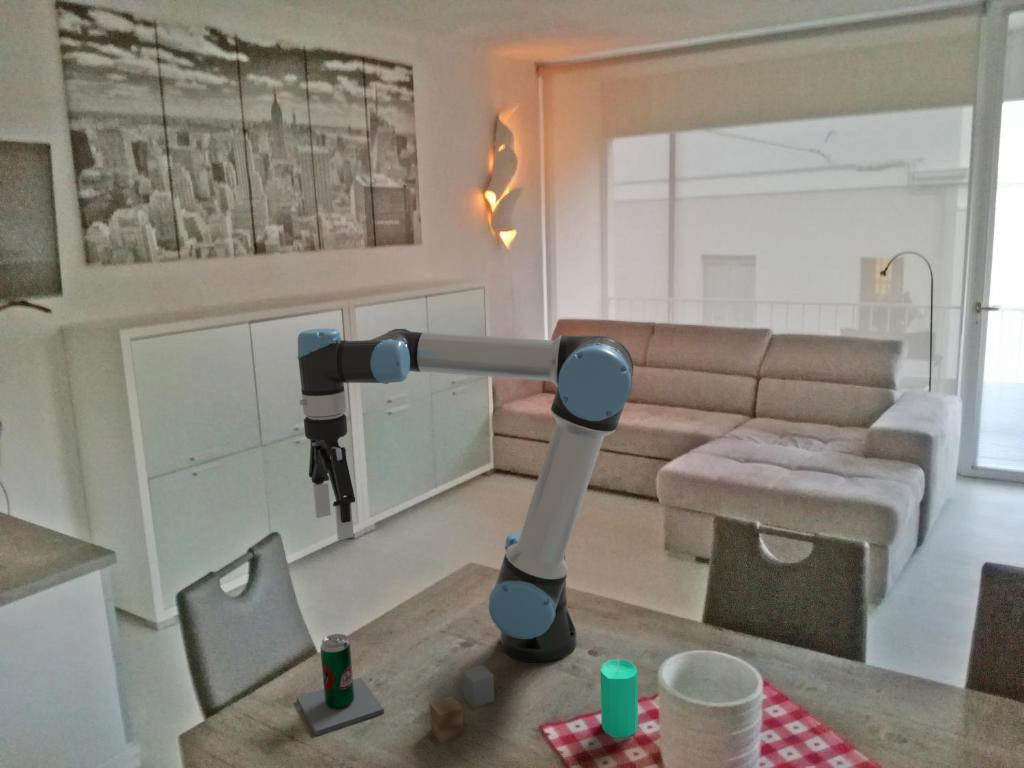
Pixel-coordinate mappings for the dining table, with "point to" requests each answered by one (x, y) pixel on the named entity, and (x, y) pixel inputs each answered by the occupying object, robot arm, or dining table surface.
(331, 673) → the soda can
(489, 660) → the dining table surface
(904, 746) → the dining table surface
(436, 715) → the walnut block
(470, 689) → the slate grey block
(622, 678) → the candle
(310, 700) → the grey square plate
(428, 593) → the dining table surface
